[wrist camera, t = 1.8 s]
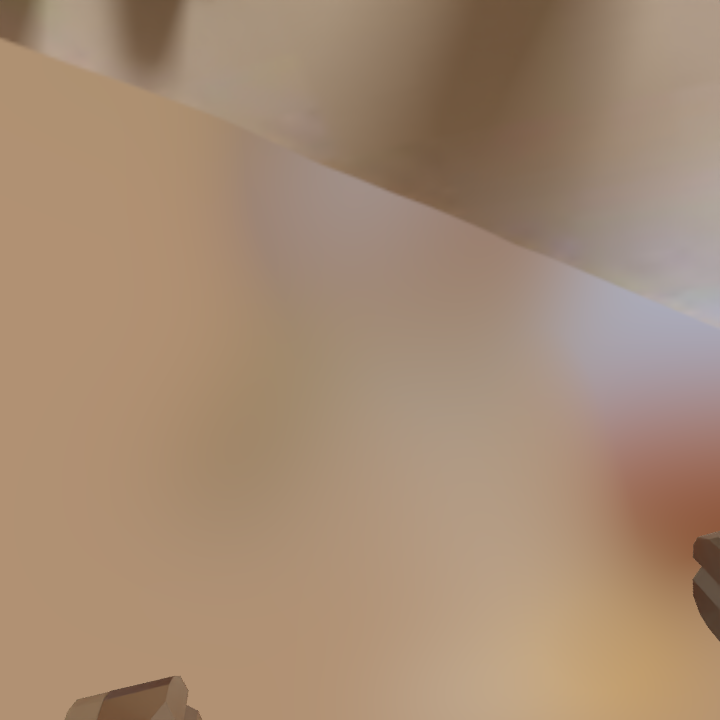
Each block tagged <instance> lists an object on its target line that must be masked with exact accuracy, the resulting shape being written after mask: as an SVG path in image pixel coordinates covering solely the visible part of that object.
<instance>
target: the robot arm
mask: <svg viewBox="0 0 720 720" xmlns="http://www.w3.org/2000/svg"><path fill="white" fill-rule="evenodd" d="M693 558H694V559H695V560H696V561H697V562H698V563H699V564H700V565H701V566H702V567H701V568H700V570H699V571H698V573H697V574H696V575H695V577H694V578H693V596H694V599H695V602H696V605H697V607H698V610H699V613H700V615H701V617H702V618H703V620H704V621H705V623H706V625H707V626H708V628H709V629H710V630H711V631H712V633H713V634H714V635H715V636H716V638H717V639H718V640H719V641H720V531H719V532H715V533H712V534H708V535H704V536H701V537H698V538H697V539H696V541H695V543H694V545H693ZM187 697H188V689H187V687H186V685H185V684H184V682H183V680H182V678H181V677H180V676H173V677H168V678H164V679H160V680H156V681H151V682H147V683H143V684H139V685H135V686H130V687H126V688H121V689H117V690H113V691H110V692H107V693H103V694H99V695H95V696H90V697H86V698H82V699H78V700H77V701H76V702H75V703H74V704H73V705H72V707H71V708H70V709H69V711H68V713H67V715H66V718H65V720H202V718H201V716H200V714H199V712H198V711H197V710H195V709H193V708H191V707H189V706H187V705H186V703H187Z"/></svg>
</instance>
